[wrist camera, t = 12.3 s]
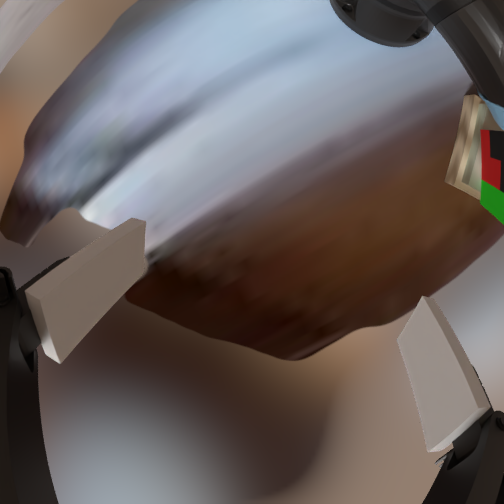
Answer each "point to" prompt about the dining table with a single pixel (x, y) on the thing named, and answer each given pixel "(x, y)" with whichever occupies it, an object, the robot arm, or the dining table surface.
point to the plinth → (470, 146)
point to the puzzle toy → (492, 172)
